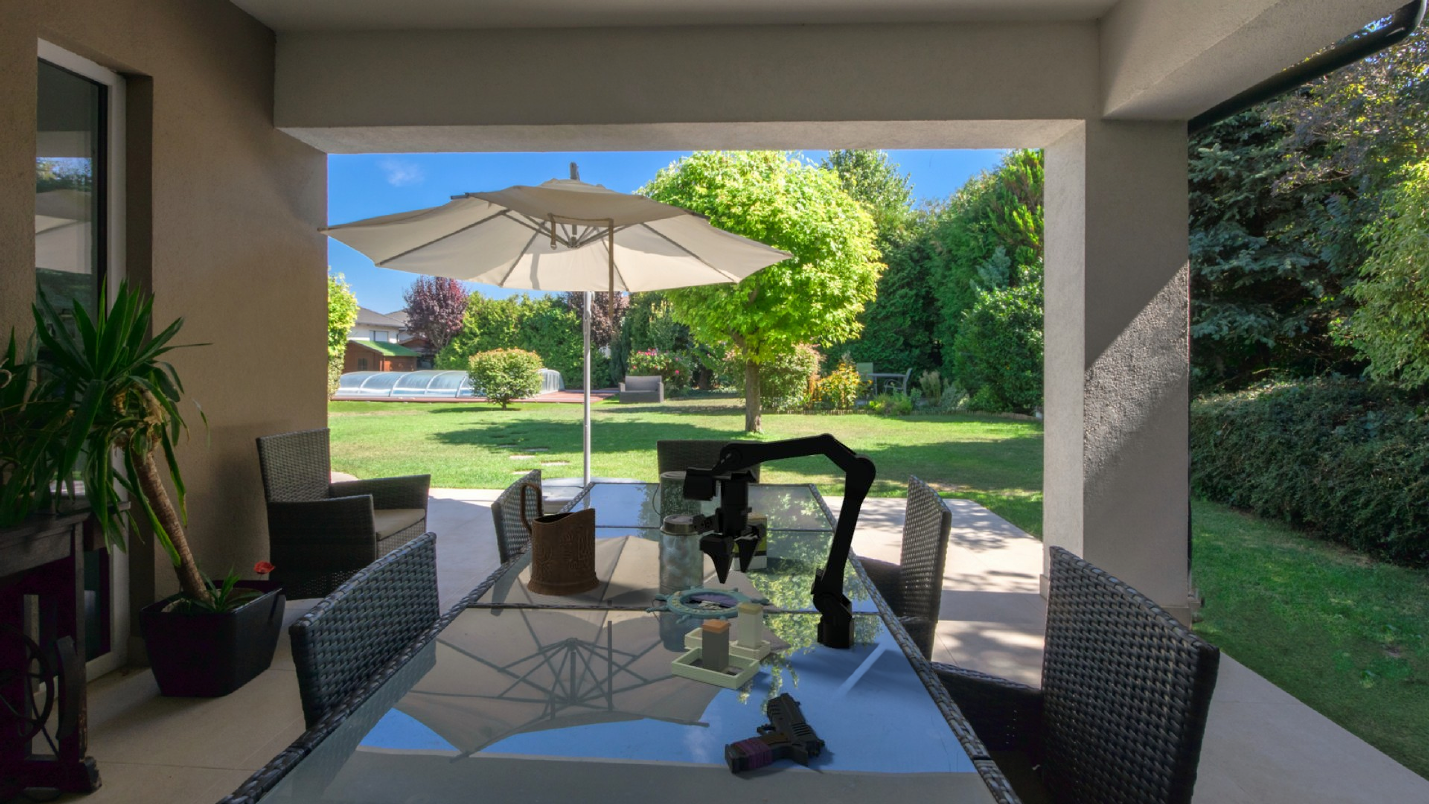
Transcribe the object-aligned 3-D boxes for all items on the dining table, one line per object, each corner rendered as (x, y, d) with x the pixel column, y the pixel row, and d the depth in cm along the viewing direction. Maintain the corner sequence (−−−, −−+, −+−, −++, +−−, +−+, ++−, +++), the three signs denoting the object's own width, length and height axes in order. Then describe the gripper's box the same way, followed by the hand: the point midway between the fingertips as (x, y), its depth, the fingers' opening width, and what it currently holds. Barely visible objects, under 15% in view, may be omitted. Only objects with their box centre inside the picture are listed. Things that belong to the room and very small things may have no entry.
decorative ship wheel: (793, 589, 182) (739, 627, 156) (793, 603, 183) (739, 643, 156) (685, 572, 196) (618, 604, 170) (685, 584, 196) (618, 618, 170)
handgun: (710, 712, 125) (798, 707, 127) (729, 778, 105) (834, 770, 108) (710, 695, 125) (798, 690, 127) (729, 758, 105) (834, 750, 107)
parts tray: (759, 676, 138) (759, 660, 138) (735, 695, 130) (736, 678, 130) (696, 661, 145) (697, 646, 145) (670, 678, 137) (671, 662, 137)
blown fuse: (728, 672, 138) (729, 622, 138) (719, 680, 135) (719, 628, 135) (711, 668, 140) (711, 618, 140) (701, 675, 137) (702, 624, 136)
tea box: (717, 557, 223) (717, 507, 222) (749, 555, 226) (750, 506, 225) (733, 571, 208) (734, 517, 207) (767, 568, 211) (768, 516, 210)
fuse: (762, 652, 147) (763, 604, 147) (754, 658, 144) (754, 610, 144) (745, 649, 149) (746, 601, 148) (737, 655, 146) (738, 606, 145)
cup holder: (565, 600, 181) (566, 496, 180) (495, 584, 193) (495, 486, 192) (615, 582, 197) (615, 486, 195) (546, 567, 209) (547, 477, 208)
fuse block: (773, 655, 149) (773, 640, 148) (755, 669, 142) (755, 653, 141) (701, 639, 156) (701, 625, 156) (681, 652, 149) (681, 637, 149)
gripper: (721, 492, 167) (720, 562, 168) (676, 505, 151) (675, 583, 151) (767, 497, 161) (766, 569, 162) (725, 511, 145) (724, 592, 146)
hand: (733, 578), depth 156 cm, fingers open, 9 cm apart
